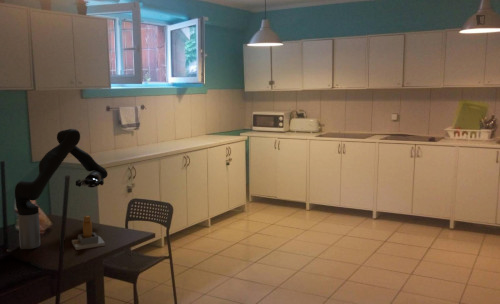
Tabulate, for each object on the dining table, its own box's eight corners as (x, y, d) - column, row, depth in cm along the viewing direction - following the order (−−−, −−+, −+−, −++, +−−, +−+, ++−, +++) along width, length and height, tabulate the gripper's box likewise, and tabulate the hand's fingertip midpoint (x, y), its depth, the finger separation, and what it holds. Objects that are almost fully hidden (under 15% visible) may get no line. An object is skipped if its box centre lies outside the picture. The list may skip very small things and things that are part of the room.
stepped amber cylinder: (84, 243, 238) (83, 218, 236) (82, 240, 242) (81, 216, 240) (93, 241, 240) (92, 217, 238) (91, 239, 244) (90, 215, 242)
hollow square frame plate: (76, 249, 232) (75, 241, 232) (71, 243, 243) (71, 234, 242) (105, 245, 239) (104, 236, 239) (99, 238, 250) (99, 230, 249)
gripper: (79, 173, 267) (73, 178, 251) (105, 173, 269) (100, 177, 253) (80, 186, 268) (73, 191, 252) (106, 185, 270) (101, 191, 254)
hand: (87, 184), depth 252 cm, fingers open, 8 cm apart
